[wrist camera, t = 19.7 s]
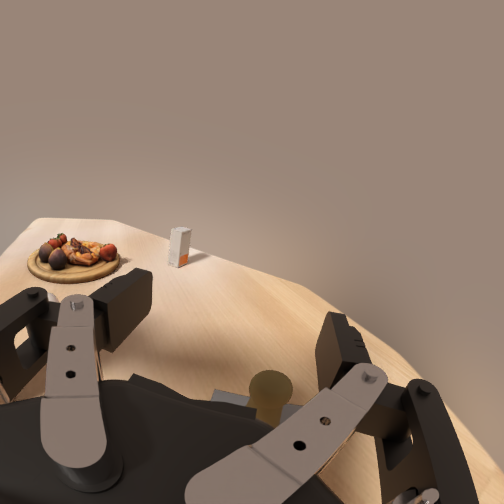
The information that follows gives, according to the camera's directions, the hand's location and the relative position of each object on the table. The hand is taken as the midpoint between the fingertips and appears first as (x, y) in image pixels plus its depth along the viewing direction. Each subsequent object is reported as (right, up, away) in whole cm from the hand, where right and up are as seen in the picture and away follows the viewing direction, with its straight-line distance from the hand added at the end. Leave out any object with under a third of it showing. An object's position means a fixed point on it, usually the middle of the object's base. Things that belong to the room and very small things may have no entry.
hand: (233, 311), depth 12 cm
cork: (+1, -23, +21) cm, 31 cm away
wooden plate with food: (-55, -1, +61) cm, 82 cm away
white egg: (-43, -12, +33) cm, 56 cm away
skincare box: (-24, -2, +77) cm, 81 cm away
